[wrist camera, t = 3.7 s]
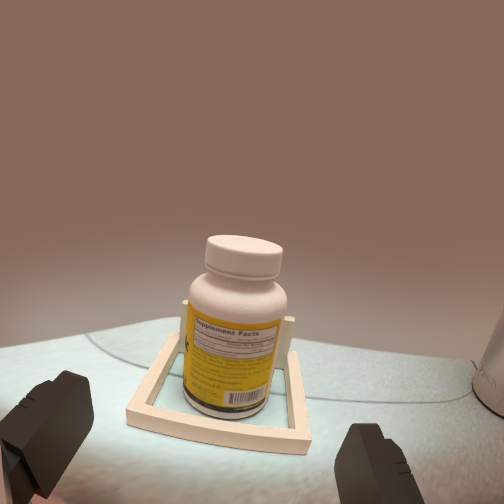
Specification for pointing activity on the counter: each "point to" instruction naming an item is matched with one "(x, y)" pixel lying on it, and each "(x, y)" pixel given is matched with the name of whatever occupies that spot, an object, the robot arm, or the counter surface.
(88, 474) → the counter surface
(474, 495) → the counter surface
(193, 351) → the supplement bottle
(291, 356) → the beige open frame
